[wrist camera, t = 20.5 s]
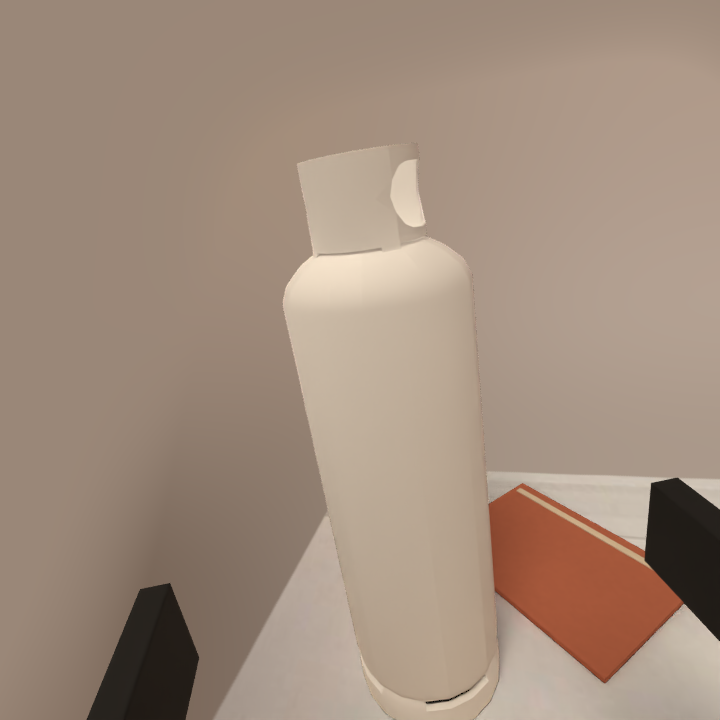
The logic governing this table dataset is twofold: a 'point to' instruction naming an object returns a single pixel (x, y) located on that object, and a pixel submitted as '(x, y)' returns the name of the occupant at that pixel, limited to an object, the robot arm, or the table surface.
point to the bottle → (397, 431)
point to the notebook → (576, 580)
